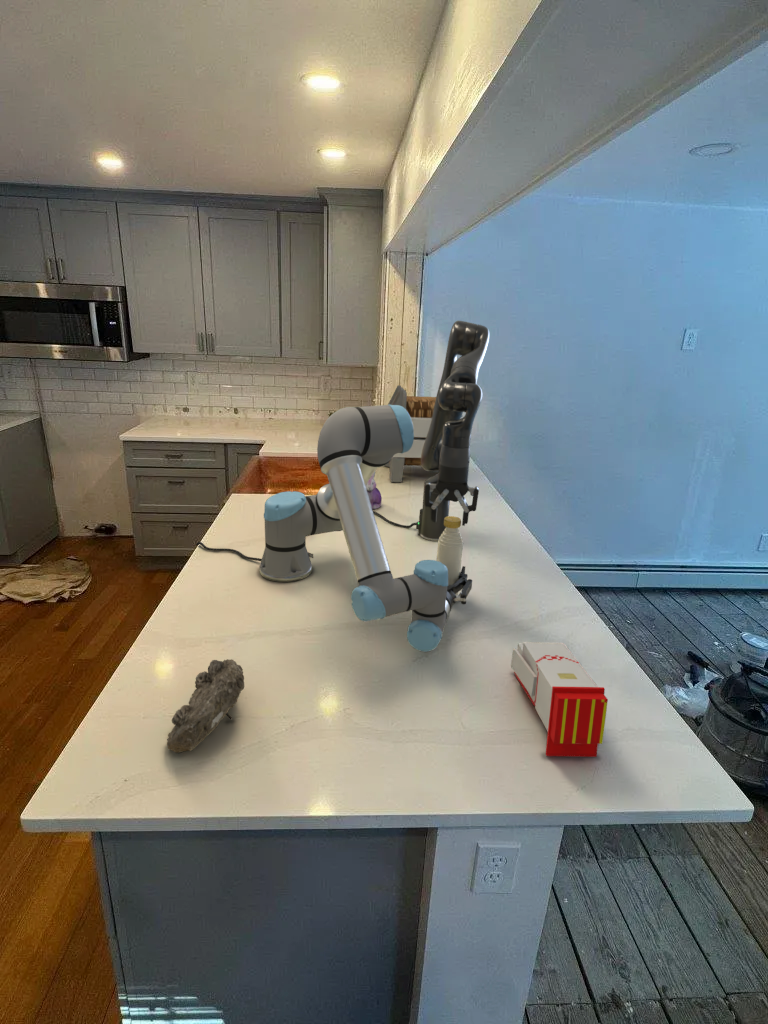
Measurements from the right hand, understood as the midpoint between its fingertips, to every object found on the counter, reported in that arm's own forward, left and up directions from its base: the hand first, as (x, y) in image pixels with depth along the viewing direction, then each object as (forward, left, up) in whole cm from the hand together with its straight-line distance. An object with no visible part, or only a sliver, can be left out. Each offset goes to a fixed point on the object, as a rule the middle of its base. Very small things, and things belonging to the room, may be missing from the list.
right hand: (448, 523), depth 149 cm
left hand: (-1, +5, -15) cm, 16 cm away
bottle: (+1, +1, -22) cm, 22 cm away
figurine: (-60, +47, -22) cm, 80 cm away
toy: (+40, -27, -22) cm, 53 cm away
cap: (+1, +1, +1) cm, 1 cm away
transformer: (-72, +103, -22) cm, 127 cm away
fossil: (-10, -70, -22) cm, 74 cm away
